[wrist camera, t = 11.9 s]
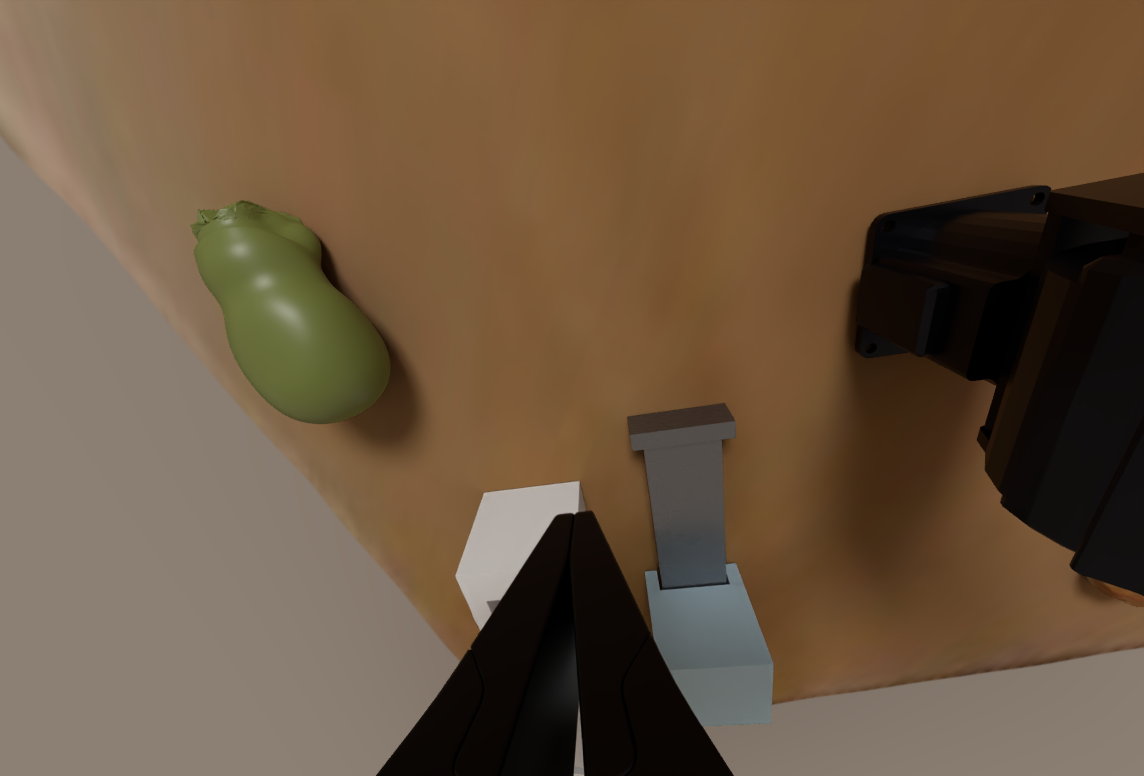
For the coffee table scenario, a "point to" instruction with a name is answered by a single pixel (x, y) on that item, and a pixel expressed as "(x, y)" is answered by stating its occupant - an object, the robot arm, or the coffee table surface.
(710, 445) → the rail
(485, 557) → the cabinet
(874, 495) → the coffee table surface
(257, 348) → the green eggplant
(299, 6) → the coffee table surface
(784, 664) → the coffee table surface
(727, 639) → the block
